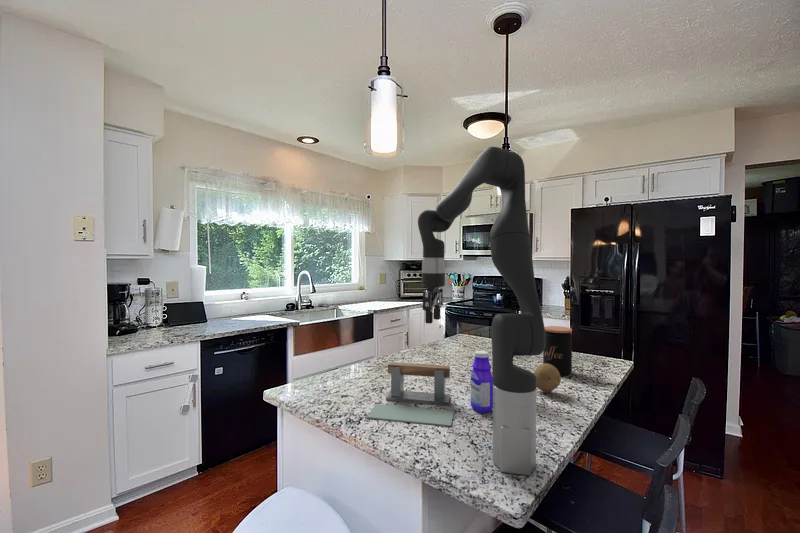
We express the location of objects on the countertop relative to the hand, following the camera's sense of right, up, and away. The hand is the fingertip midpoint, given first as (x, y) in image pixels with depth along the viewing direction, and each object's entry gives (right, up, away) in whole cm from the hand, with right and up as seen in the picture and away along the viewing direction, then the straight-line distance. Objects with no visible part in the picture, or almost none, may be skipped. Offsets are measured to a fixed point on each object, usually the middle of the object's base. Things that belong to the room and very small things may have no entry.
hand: (433, 321), depth 121 cm
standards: (-5, -25, -1) cm, 26 cm away
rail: (-5, -17, -1) cm, 18 cm away
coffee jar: (+53, -25, +29) cm, 65 cm away
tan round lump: (+39, -26, +5) cm, 47 cm away
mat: (-8, -25, -13) cm, 30 cm away
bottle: (+14, -26, -9) cm, 30 cm away
